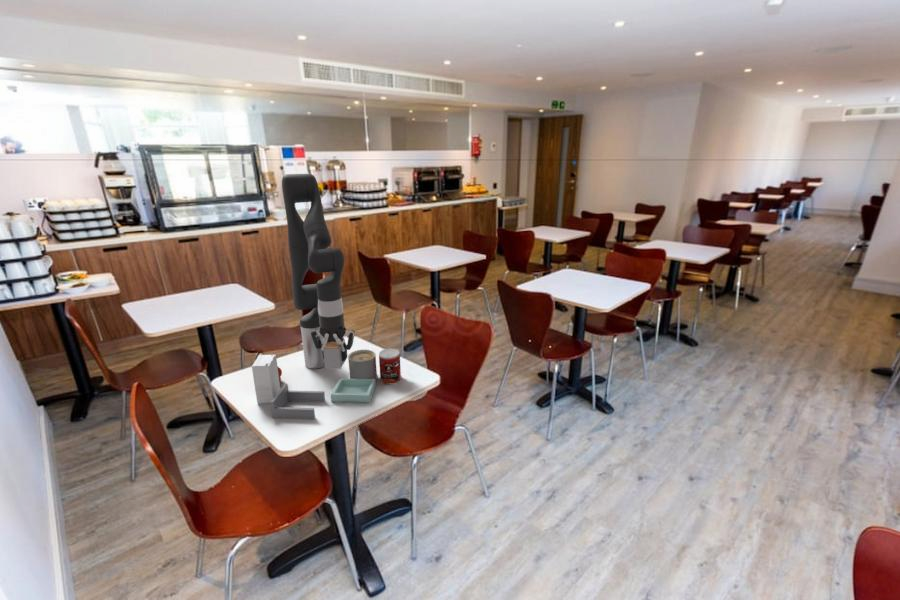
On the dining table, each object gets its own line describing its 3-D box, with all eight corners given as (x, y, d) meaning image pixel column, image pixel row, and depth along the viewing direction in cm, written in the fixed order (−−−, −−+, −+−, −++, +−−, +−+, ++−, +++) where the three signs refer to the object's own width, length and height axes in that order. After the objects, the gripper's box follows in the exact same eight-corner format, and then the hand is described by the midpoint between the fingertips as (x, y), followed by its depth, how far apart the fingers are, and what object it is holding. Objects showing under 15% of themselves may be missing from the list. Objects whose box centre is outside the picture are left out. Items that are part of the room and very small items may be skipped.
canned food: (379, 384, 155) (377, 357, 151) (381, 374, 162) (380, 348, 158) (399, 384, 155) (398, 357, 151) (401, 373, 162) (400, 348, 159)
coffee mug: (380, 382, 156) (378, 358, 153) (353, 388, 152) (351, 363, 149) (370, 366, 168) (368, 344, 164) (345, 372, 163) (343, 348, 160)
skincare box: (264, 391, 150) (258, 354, 145) (281, 390, 150) (276, 353, 145) (256, 404, 142) (250, 365, 137) (275, 403, 142) (269, 364, 138)
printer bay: (286, 399, 145) (284, 384, 143) (325, 400, 145) (323, 384, 143) (272, 418, 135) (270, 401, 133) (314, 419, 134) (312, 403, 132)
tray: (340, 385, 154) (340, 378, 153) (375, 386, 153) (375, 379, 152) (331, 402, 143) (330, 394, 143) (369, 403, 143) (368, 395, 142)
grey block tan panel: (331, 359, 140) (329, 338, 137) (345, 359, 140) (344, 339, 137) (325, 368, 134) (323, 347, 132) (340, 368, 134) (338, 347, 132)
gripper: (356, 307, 134) (360, 355, 140) (312, 306, 135) (317, 354, 141) (350, 316, 127) (354, 366, 133) (303, 315, 128) (309, 364, 133)
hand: (335, 359), depth 137 cm, fingers closed on grey block tan panel, 5 cm apart
